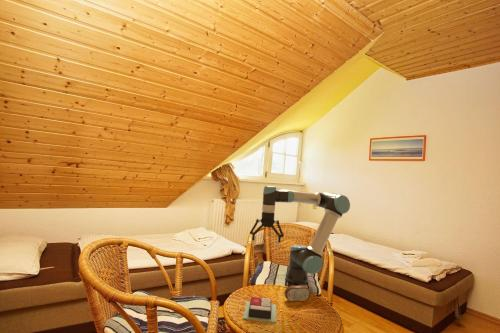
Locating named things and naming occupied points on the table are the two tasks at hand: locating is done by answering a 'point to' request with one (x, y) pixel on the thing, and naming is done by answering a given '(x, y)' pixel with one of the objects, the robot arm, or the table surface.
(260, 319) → the mat
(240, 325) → the table surface
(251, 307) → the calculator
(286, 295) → the tin
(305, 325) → the table surface
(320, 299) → the table surface
